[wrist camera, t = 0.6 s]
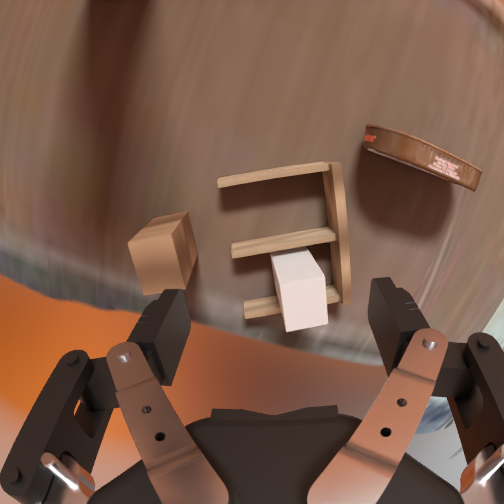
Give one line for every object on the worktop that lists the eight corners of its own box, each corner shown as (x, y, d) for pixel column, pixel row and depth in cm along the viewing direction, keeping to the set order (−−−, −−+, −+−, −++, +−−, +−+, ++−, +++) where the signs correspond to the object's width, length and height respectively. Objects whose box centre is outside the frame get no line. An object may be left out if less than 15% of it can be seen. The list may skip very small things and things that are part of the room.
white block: (269, 250, 35) (279, 284, 26) (304, 244, 35) (324, 276, 26) (275, 289, 37) (286, 331, 28) (308, 283, 37) (327, 323, 28)
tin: (454, 164, 32) (497, 172, 24) (448, 186, 33) (491, 199, 25) (354, 123, 31) (389, 118, 23) (348, 150, 32) (381, 152, 24)
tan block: (153, 218, 33) (127, 242, 25) (188, 211, 33) (171, 234, 25) (164, 259, 35) (143, 295, 26) (197, 253, 35) (185, 289, 26)
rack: (219, 177, 32) (216, 182, 28) (329, 160, 32) (341, 162, 28) (244, 306, 37) (245, 323, 33) (341, 288, 37) (351, 303, 33)
